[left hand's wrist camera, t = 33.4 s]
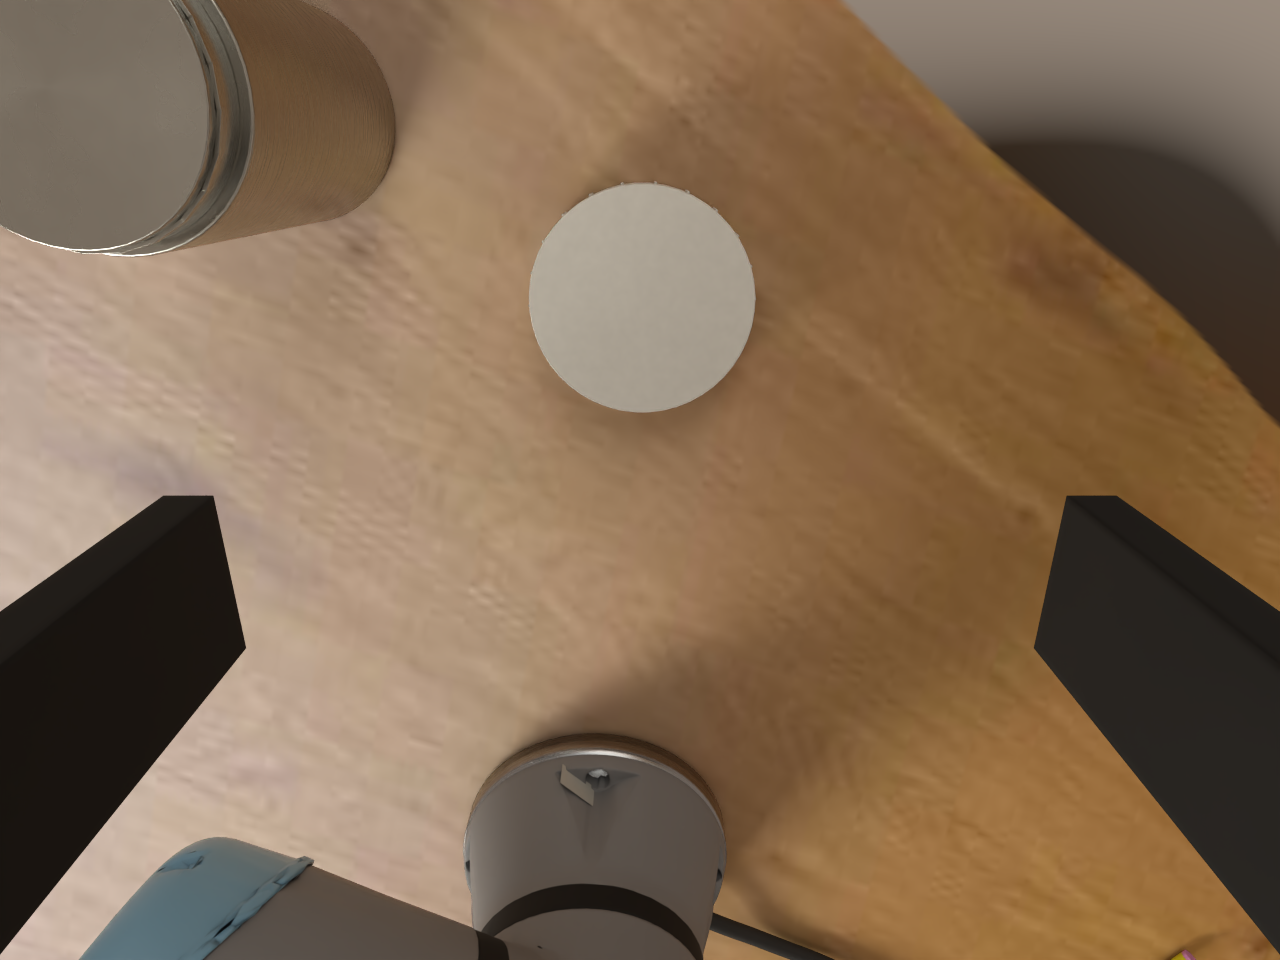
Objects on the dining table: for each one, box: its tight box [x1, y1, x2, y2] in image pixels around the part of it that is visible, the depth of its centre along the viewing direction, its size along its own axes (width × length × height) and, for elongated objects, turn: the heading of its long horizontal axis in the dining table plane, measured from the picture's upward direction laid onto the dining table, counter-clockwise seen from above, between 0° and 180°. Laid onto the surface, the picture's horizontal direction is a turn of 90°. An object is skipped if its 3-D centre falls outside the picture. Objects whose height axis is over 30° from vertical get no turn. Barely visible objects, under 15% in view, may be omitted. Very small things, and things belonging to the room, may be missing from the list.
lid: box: [529, 181, 756, 412], centre depth 36 cm, size 10×10×2 cm
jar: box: [0, 0, 395, 257], centre depth 27 cm, size 8×8×15 cm
